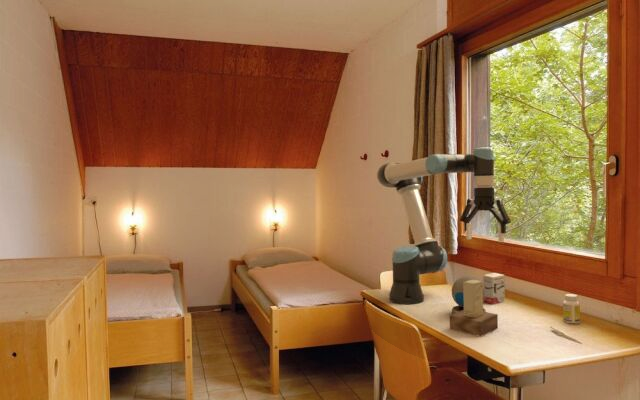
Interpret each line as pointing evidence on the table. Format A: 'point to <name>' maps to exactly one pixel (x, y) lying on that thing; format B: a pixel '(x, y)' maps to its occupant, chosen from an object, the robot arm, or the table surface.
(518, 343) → the table surface
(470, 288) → the skincare box
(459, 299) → the webcam
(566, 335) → the beige slender tapered piece
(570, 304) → the supplement bottle
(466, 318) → the walnut plinth
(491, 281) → the ink box
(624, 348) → the table surface
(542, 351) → the table surface
